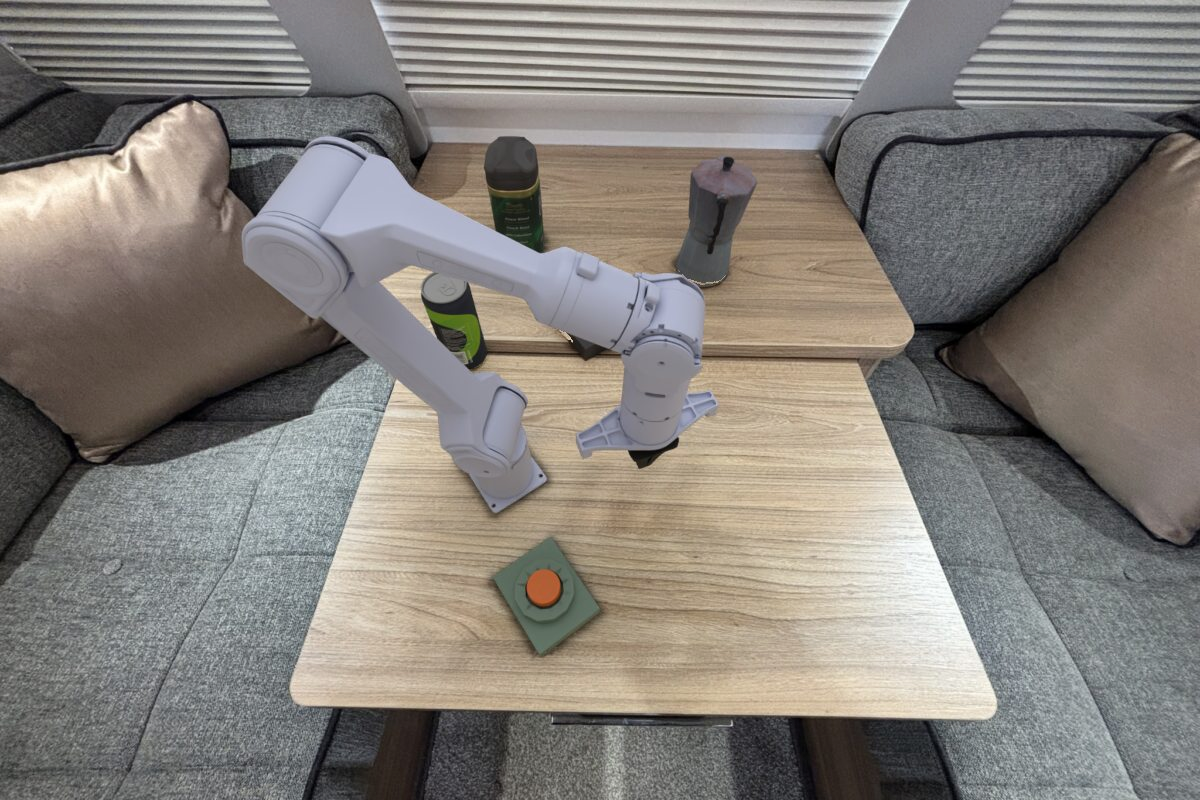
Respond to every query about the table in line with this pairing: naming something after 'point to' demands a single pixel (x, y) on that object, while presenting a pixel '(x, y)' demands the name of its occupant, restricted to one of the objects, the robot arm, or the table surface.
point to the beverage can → (454, 317)
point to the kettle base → (556, 619)
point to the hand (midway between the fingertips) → (641, 459)
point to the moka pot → (714, 218)
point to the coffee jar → (515, 190)
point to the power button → (543, 588)
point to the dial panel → (585, 347)
